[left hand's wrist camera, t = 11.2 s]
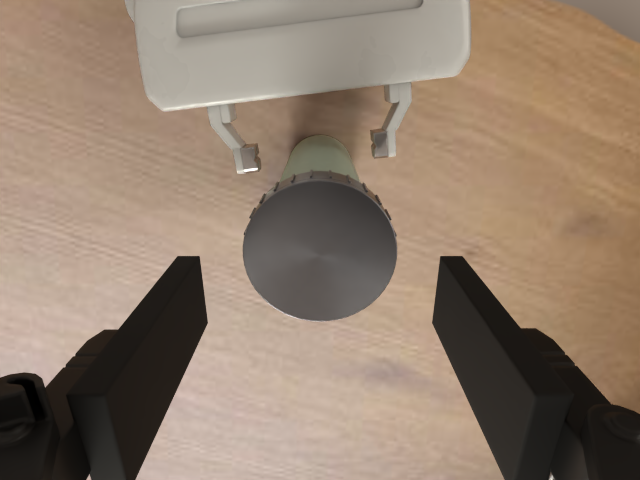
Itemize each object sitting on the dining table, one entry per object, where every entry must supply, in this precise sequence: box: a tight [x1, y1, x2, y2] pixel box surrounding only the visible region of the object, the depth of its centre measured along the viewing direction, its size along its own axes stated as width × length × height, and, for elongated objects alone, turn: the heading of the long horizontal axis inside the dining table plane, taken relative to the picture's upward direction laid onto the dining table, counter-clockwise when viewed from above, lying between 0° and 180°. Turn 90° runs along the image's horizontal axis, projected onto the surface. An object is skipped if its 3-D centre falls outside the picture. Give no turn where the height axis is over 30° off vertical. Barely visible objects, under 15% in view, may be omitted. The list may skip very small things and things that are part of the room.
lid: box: [243, 170, 397, 322], centre depth 18 cm, size 7×7×2 cm
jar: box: [279, 135, 361, 183], centre depth 26 cm, size 6×6×18 cm
